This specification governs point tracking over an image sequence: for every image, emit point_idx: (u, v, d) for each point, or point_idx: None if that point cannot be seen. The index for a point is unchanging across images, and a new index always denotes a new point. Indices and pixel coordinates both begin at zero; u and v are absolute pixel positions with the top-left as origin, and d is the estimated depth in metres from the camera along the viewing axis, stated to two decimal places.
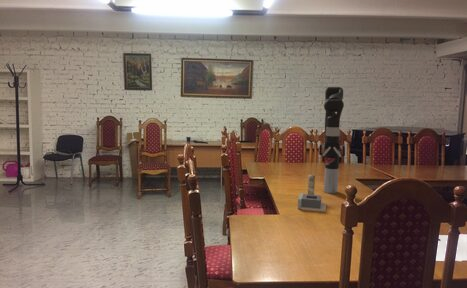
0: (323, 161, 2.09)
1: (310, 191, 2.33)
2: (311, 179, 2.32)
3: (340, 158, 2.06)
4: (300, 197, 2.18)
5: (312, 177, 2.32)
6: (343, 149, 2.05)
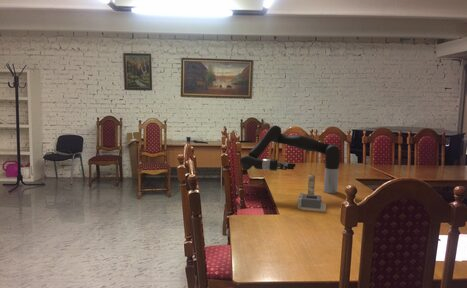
0: (294, 166, 2.41)
1: (310, 191, 2.33)
2: (311, 179, 2.32)
3: (289, 168, 2.32)
4: (300, 197, 2.18)
5: (312, 177, 2.32)
6: None
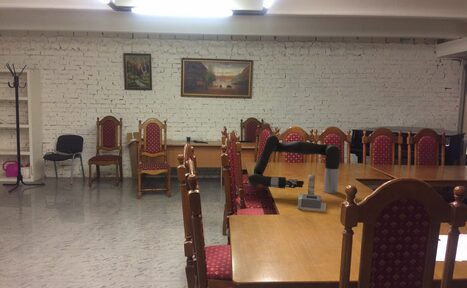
0: (302, 184, 2.41)
1: (310, 191, 2.33)
2: (311, 179, 2.32)
3: (297, 186, 2.32)
4: (300, 197, 2.18)
5: (312, 177, 2.32)
6: None
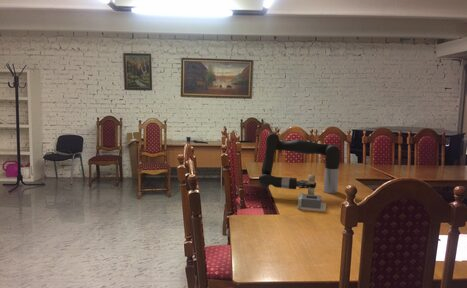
0: None
1: (310, 191, 2.33)
2: (311, 179, 2.32)
3: (310, 187, 2.32)
4: (300, 197, 2.18)
5: (312, 177, 2.32)
6: None
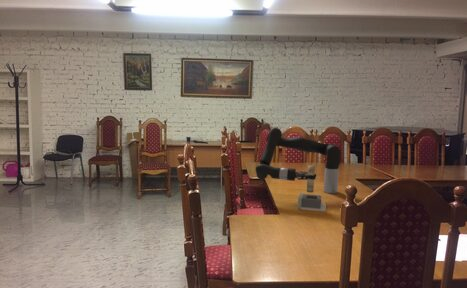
0: (314, 177, 2.23)
1: (309, 183, 2.20)
2: (311, 170, 2.19)
3: None
4: (300, 197, 2.18)
5: (312, 168, 2.19)
6: None
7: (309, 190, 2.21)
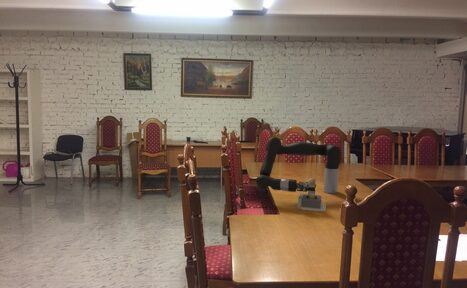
0: (314, 187, 2.23)
1: (310, 196, 2.18)
2: (311, 183, 2.17)
3: (310, 190, 2.14)
4: (300, 197, 2.18)
5: (312, 181, 2.17)
6: (300, 190, 2.14)
7: None
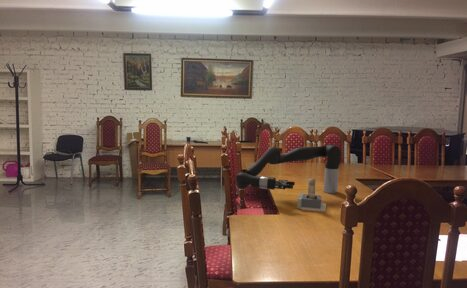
0: None
1: (310, 196, 2.18)
2: (311, 183, 2.16)
3: (288, 187, 2.18)
4: (300, 197, 2.18)
5: (312, 181, 2.16)
6: (278, 188, 2.18)
7: None
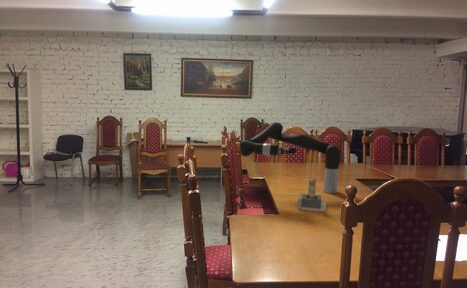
0: (295, 151, 2.33)
1: (311, 196, 2.18)
2: (312, 183, 2.17)
3: (290, 153, 2.25)
4: (300, 197, 2.18)
5: (313, 181, 2.16)
6: (281, 153, 2.25)
7: None
